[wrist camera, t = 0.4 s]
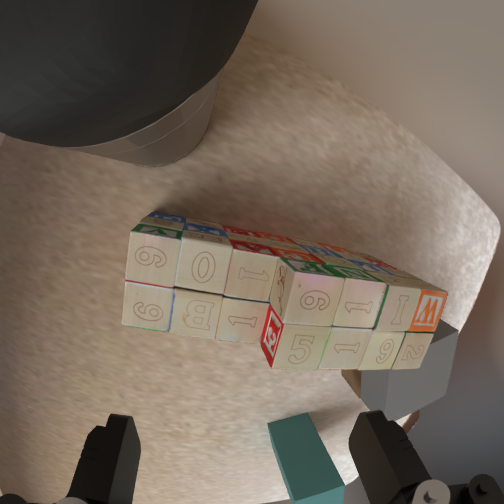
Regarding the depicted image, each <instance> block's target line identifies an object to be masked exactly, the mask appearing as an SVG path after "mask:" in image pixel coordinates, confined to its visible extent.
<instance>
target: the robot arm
mask: <svg viewBox="0 0 504 504" xmlns="http://www.w3.org/2000/svg"><path fill="white" fill-rule="evenodd" d="M257 2H258V0H0V132H2V133H4V134H6V135H9V136H11V137H14V138H18V139H21V140H25V141H29V142H34V143H39V144H44V145H49V146H55V147H60V148H65V149H70V150H74V151H80V152H84V153H89V154H93V155H98V156H102V157H107V158H111V159H115V160H119V161H123V162H128V163H131V164H134V165H137V166H143V167H157V166H165V165H168V164H171V163H174V162H176V161H178V160H180V159H182V158H183V157H185V156H186V155H188V154H189V153H190V152H191V151H192V150H194V148H195V147H196V146H197V145H198V143H199V142H200V141H201V140H202V138H203V136H204V134H205V132H206V130H207V126H208V123H209V119H210V116H211V112H212V109H213V105H214V101H215V97H216V94H217V90H218V86H219V83H220V79H221V76H222V72H223V69H224V66H225V64H226V63H227V61H228V60H229V58H230V57H231V55H232V53H233V52H234V50H235V48H236V46H237V44H238V42H239V40H240V39H241V37H242V35H243V33H244V31H245V29H246V26H247V24H248V22H249V20H250V17H251V15H252V13H253V11H254V9H255V6H256V4H257ZM349 450H350V453H351V456H352V458H353V461H354V463H355V466H356V468H357V471H358V473H359V476H360V478H361V481H362V483H363V486H364V489H365V491H366V493H367V496H368V499H369V501H370V504H504V495H503V493H502V492H501V490H500V488H499V486H498V485H497V483H496V481H495V480H494V479H493V478H492V477H491V476H489V475H486V474H480V475H477V476H475V477H474V478H473V479H472V480H471V481H470V482H469V483H467V484H460V485H452V486H447V485H445V484H444V483H443V482H441V481H439V480H433V479H432V478H431V477H430V475H429V474H428V472H427V470H426V468H425V466H424V465H423V463H422V461H421V459H420V458H419V456H418V454H417V452H416V451H415V449H414V448H413V445H412V444H411V442H410V441H409V440H408V437H407V435H406V433H405V431H404V430H403V428H402V427H401V426H400V425H398V424H397V423H396V422H395V421H393V420H390V421H388V420H387V418H386V417H385V415H384V413H383V412H382V411H381V410H373V411H368V412H362V413H360V414H359V416H358V418H357V420H356V423H355V425H354V427H353V430H352V432H351V434H350V437H349ZM140 454H141V445H140V440H139V436H138V433H137V430H136V427H135V423H134V420H133V417H132V416H126V415H118V414H110V416H109V418H108V421H107V424H106V427H103V426H98V425H97V426H96V427H95V428H94V429H93V430H92V431H91V432H90V433H89V434H88V436H87V439H86V441H85V444H84V449H83V450H82V453H81V458H80V459H79V462H78V465H77V468H76V471H75V474H74V477H73V480H72V483H71V487H70V490H69V492H68V494H67V496H66V497H65V498H63V499H61V500H59V501H58V502H57V503H54V504H132V500H133V494H134V488H135V482H136V477H137V471H138V465H139V460H140ZM0 504H37V503H27V502H26V501H25V500H24V499H23V498H21V497H20V496H18V495H15V494H5V495H2V496H1V497H0Z"/></svg>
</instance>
